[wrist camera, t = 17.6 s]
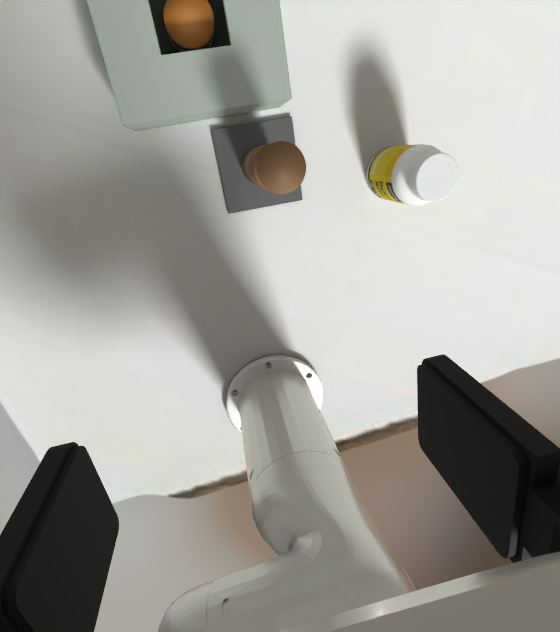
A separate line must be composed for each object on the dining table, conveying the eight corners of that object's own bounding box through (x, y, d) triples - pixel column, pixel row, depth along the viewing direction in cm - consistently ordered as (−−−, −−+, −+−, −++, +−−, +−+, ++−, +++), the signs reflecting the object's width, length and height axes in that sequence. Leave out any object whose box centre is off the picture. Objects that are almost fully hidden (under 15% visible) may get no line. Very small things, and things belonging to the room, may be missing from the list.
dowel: (278, 181, 40) (308, 189, 28) (245, 186, 39) (261, 198, 27) (273, 144, 38) (302, 137, 26) (238, 150, 38) (253, 145, 26)
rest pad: (301, 199, 41) (302, 199, 41) (228, 213, 40) (228, 213, 40) (290, 117, 38) (291, 116, 38) (211, 130, 37) (211, 129, 37)
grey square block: (279, 107, 37) (291, 98, 32) (135, 130, 36) (122, 125, 31) (253, -81, 32) (262, -131, 26) (82, -62, 30) (54, -111, 25)
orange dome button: (218, 53, 35) (218, 44, 32) (174, 60, 34) (171, 51, 32) (208, -1, 33) (208, -16, 30) (161, 5, 33) (157, -9, 30)
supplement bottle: (355, 183, 41) (396, 189, 33) (383, 136, 40) (433, 128, 31) (393, 208, 43) (441, 220, 34) (421, 163, 42) (478, 164, 33)
